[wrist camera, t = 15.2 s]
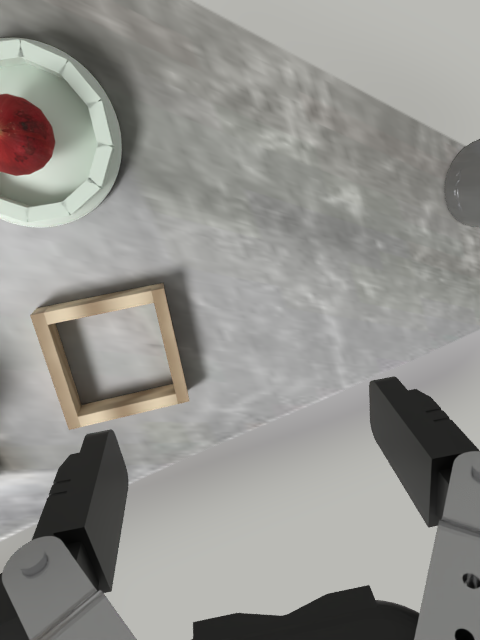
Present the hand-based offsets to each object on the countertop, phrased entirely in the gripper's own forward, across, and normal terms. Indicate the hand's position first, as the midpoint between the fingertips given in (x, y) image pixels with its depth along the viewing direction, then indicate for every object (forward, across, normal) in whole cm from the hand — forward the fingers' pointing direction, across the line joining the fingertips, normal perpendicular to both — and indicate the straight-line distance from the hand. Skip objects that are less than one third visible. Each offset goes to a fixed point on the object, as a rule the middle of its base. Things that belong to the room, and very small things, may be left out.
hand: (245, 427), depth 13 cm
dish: (+32, +14, -10) cm, 36 cm away
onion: (+31, +14, -10) cm, 35 cm away
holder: (+30, +11, +11) cm, 34 cm away
